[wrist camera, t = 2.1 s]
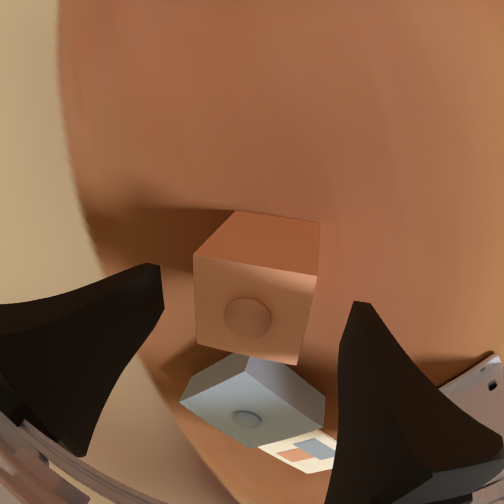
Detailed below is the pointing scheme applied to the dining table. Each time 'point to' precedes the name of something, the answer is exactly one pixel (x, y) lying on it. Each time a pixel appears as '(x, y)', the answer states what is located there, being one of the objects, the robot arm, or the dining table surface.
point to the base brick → (254, 400)
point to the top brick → (256, 285)
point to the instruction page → (305, 451)
